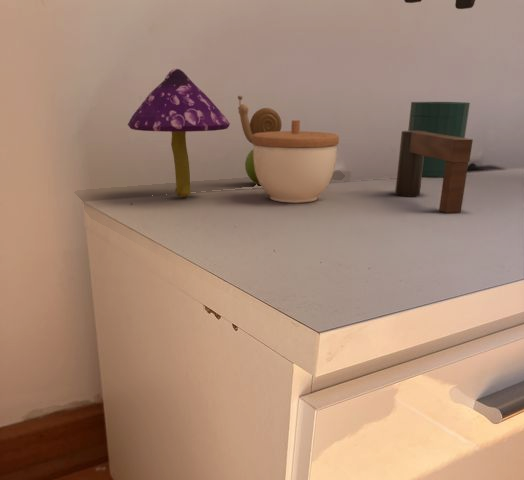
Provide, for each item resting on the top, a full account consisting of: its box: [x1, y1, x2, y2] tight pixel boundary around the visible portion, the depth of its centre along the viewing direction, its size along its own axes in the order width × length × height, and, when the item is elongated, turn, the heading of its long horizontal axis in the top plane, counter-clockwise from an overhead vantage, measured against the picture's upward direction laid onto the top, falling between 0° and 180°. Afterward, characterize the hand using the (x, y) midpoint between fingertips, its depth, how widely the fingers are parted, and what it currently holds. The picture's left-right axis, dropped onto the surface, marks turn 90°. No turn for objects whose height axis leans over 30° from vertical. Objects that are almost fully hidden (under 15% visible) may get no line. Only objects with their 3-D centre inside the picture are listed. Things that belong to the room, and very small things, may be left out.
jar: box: [407, 101, 471, 178], centre depth 94 cm, size 9×9×11 cm
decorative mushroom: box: [127, 68, 231, 199], centre depth 70 cm, size 12×12×15 cm
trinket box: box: [251, 119, 340, 204], centre depth 72 cm, size 11×11×9 cm
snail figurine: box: [237, 94, 283, 185], centre depth 81 cm, size 5×6×12 cm
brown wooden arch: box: [394, 130, 474, 214], centre depth 70 cm, size 14×3×8 cm, turn 11°
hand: (439, 5), depth 65 cm, fingers open, 8 cm apart
